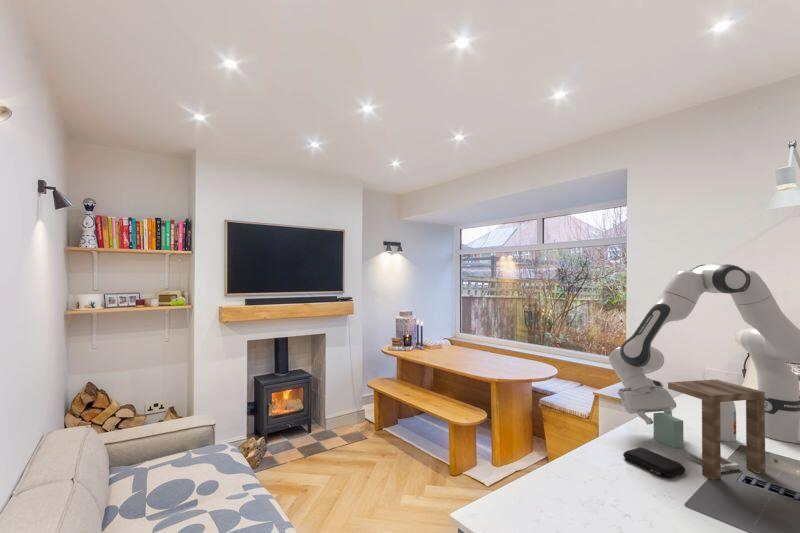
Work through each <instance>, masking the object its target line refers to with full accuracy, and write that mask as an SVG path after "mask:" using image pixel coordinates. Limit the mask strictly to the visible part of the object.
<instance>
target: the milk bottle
mask: <svg viewBox="0 0 800 533" xmlns="http://www.w3.org/2000/svg"><path fill="white" fill-rule="evenodd" d="M720 431H721V442H727V443H735V442H736V441H737V410H736V404H735V401H728V402H720Z"/></svg>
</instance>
